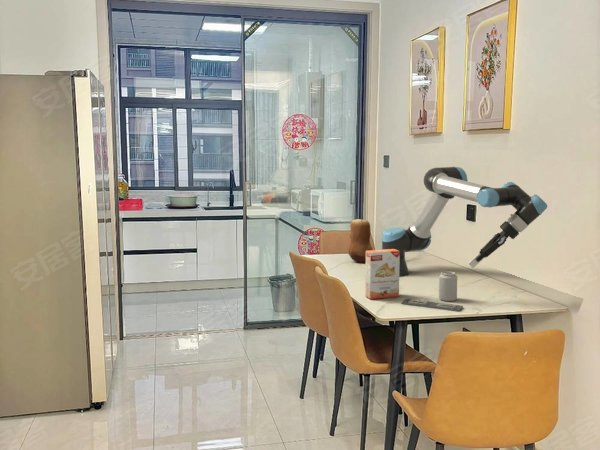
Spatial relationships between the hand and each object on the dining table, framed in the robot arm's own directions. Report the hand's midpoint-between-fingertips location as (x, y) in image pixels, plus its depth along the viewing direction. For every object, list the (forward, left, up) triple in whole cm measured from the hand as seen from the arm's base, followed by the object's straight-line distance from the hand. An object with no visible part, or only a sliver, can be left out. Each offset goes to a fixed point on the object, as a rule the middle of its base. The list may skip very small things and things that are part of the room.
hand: (470, 265), depth 235 cm
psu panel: (+15, -12, -15) cm, 24 cm away
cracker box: (+11, -35, -15) cm, 40 cm away
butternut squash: (-53, -77, -15) cm, 94 cm away
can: (+3, -9, -15) cm, 18 cm away
